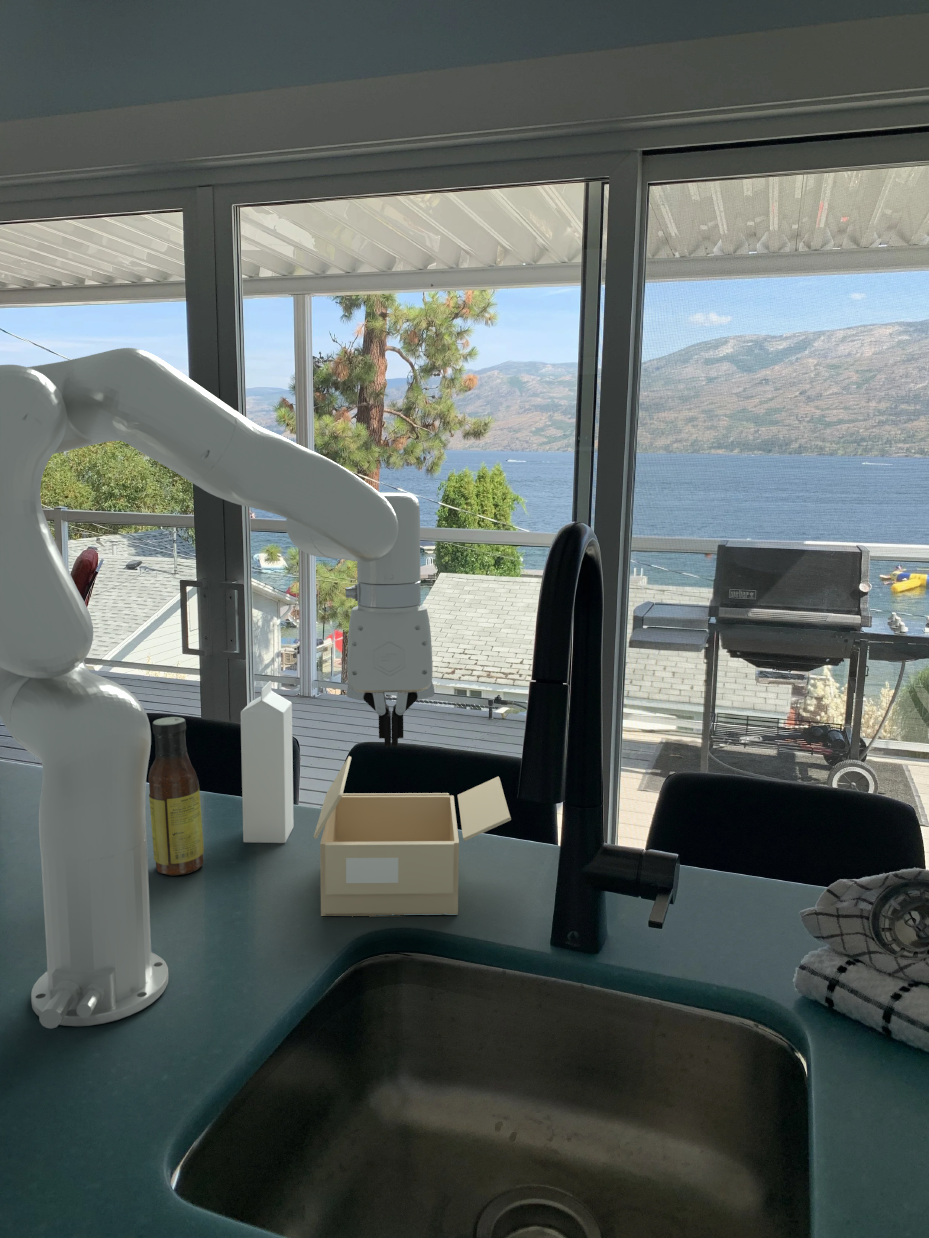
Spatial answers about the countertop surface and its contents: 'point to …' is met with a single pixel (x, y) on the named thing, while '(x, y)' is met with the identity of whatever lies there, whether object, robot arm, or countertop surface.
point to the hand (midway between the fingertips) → (391, 743)
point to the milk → (267, 768)
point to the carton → (390, 855)
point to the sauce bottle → (174, 802)
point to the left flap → (332, 797)
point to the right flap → (482, 808)
